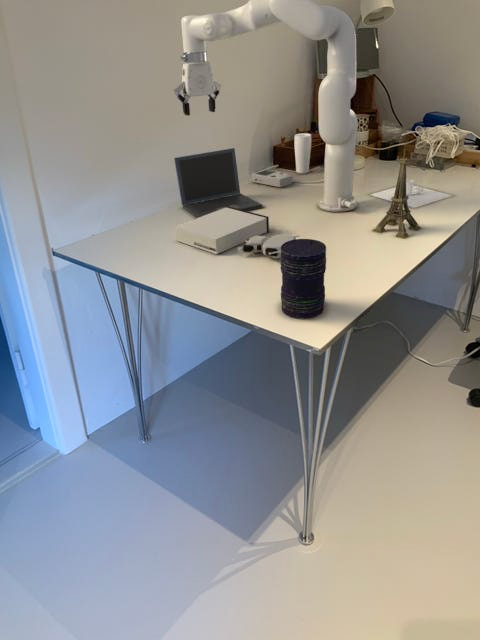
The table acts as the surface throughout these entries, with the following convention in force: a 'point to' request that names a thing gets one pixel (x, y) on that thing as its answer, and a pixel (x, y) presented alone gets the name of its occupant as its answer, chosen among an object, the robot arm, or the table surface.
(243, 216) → the disc drive
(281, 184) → the handheld gaming device
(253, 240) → the robot toy
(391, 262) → the table surface
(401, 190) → the eiffel tower
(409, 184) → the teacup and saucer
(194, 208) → the dark grey flat slab
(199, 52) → the robot arm
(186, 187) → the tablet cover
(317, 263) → the dark blue cylinder
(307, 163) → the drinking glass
